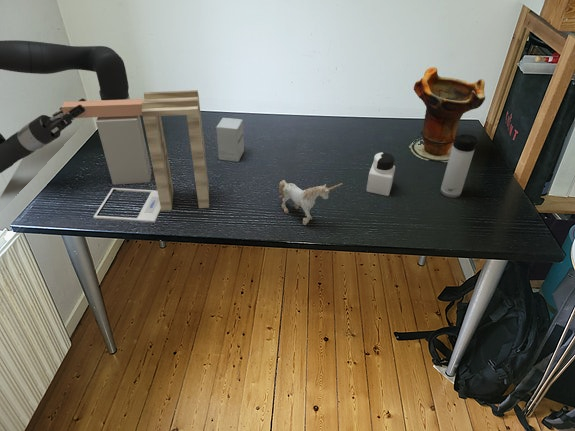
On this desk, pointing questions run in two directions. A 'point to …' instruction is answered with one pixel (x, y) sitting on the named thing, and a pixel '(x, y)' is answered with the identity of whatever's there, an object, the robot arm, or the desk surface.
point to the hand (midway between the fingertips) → (84, 104)
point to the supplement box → (230, 139)
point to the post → (124, 149)
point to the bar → (106, 108)
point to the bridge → (152, 112)
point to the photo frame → (148, 210)
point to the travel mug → (458, 165)
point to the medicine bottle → (381, 174)
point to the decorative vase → (443, 112)
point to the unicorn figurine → (302, 197)
